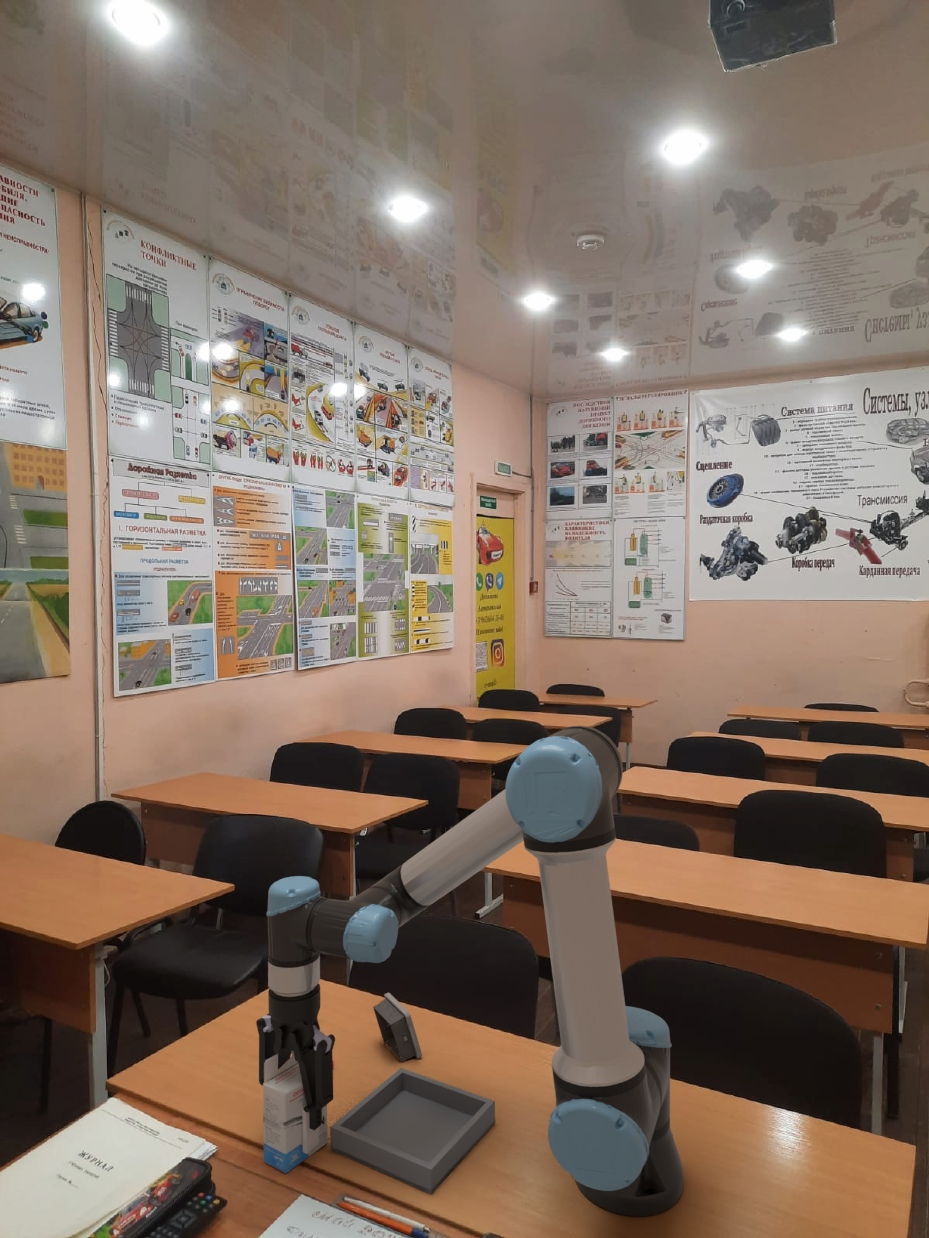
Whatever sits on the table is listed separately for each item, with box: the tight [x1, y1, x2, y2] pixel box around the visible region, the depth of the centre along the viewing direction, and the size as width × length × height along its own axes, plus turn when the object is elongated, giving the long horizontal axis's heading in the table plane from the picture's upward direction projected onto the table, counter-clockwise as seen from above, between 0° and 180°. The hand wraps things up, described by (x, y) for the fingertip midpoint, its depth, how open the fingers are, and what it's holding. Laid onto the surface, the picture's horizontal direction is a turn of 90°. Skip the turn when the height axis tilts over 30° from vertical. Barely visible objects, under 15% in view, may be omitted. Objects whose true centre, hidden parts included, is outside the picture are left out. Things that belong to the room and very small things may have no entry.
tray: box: [329, 1067, 496, 1196], centre depth 125 cm, size 18×18×4 cm
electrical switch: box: [372, 992, 423, 1063], centre depth 149 cm, size 9×5×9 cm, turn 30°
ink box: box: [262, 1051, 328, 1174], centre depth 121 cm, size 9×5×15 cm, turn 144°
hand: (296, 1140), depth 121 cm, fingers closed on ink box, 5 cm apart
